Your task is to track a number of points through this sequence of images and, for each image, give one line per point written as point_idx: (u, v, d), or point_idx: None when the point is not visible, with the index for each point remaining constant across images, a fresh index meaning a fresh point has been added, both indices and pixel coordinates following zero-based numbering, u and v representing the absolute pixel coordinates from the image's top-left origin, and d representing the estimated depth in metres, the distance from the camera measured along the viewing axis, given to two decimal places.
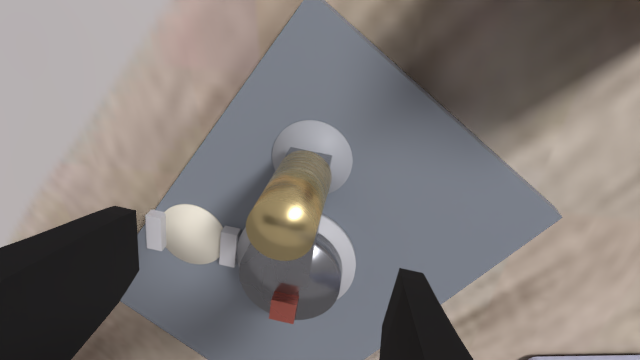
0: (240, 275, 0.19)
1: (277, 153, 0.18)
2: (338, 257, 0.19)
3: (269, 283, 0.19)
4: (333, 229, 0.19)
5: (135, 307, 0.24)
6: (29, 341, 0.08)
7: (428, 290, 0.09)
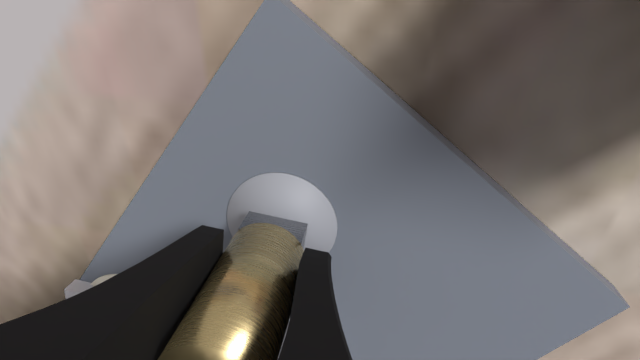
0: None
1: (234, 215, 0.13)
2: None
3: None
4: None
5: None
6: None
7: (323, 267, 0.09)
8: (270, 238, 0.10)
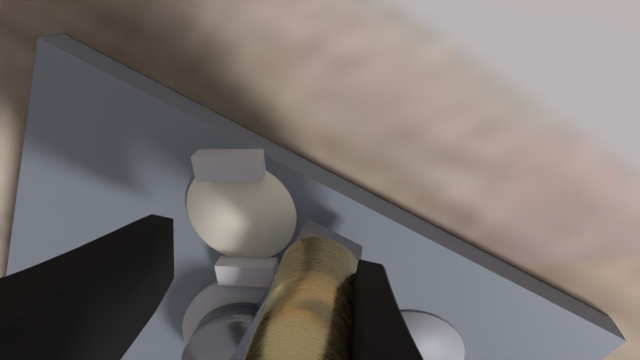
0: (183, 356, 0.14)
1: (412, 318, 0.14)
2: None
3: None
4: None
5: (36, 111, 0.12)
6: (78, 353, 0.08)
7: (383, 280, 0.09)
8: (340, 259, 0.10)
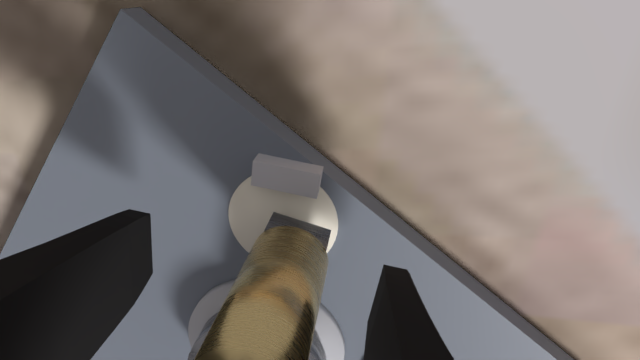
0: None
1: None
2: (323, 354, 0.14)
3: None
4: None
5: (95, 80, 0.12)
6: (48, 346, 0.08)
7: (411, 286, 0.09)
8: (299, 243, 0.10)
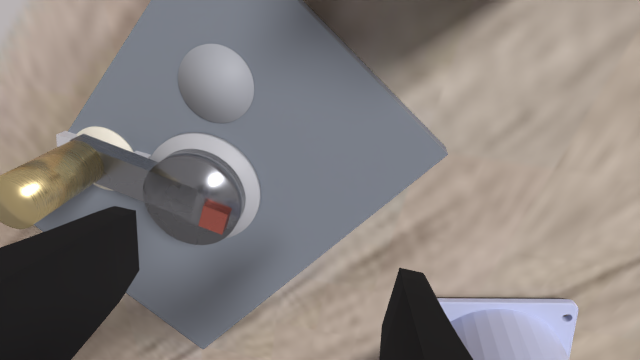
0: (188, 242, 0.21)
1: (183, 76, 0.19)
2: (181, 151, 0.19)
3: (194, 221, 0.20)
4: (237, 157, 0.20)
5: None
6: (29, 341, 0.08)
7: (428, 290, 0.09)
8: None
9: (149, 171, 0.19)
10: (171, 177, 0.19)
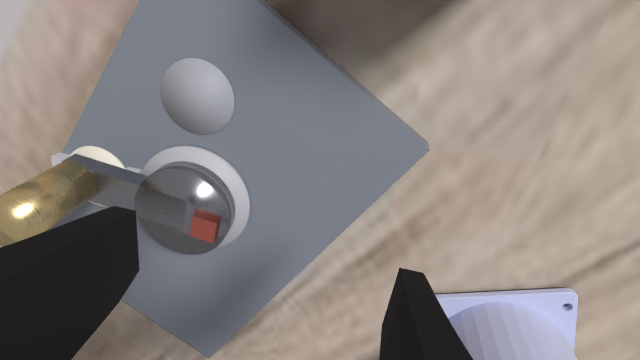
0: (182, 252, 0.21)
1: (165, 91, 0.19)
2: (169, 164, 0.20)
3: (186, 231, 0.20)
4: (223, 166, 0.20)
5: None
6: (29, 341, 0.08)
7: (428, 290, 0.09)
8: None
9: (139, 185, 0.20)
10: (160, 190, 0.20)
